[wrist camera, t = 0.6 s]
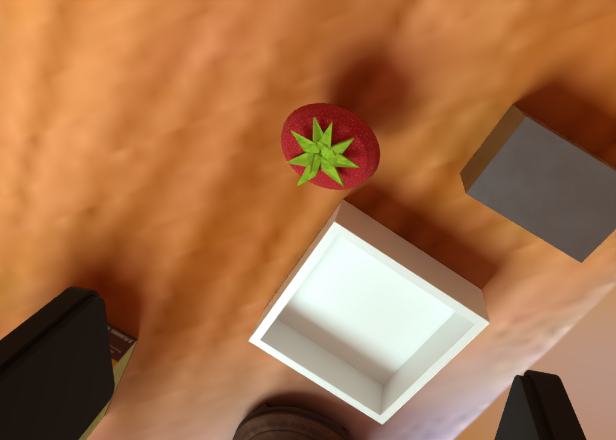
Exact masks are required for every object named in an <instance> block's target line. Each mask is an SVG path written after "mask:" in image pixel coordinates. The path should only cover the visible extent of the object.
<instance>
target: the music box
mask: <svg viewBox="0 0 616 440" xmlns="http://www.w3.org/2000/svg"><path fill="white" fill-rule="evenodd" d="M233 440H351V439H350V436H349V431H348V429H347V428H343V430H342V429H341V428H339V427H338V426H337V425H336V424H334V423H333V422H332V421H330V420H328V419H327V418H325V417H323V416H321V415H319V414H316V413H314V412H311V411H308V410H305V409H301V408H296V407H289V406H274V407H268V405H267V404H263V405H262V406H261V407H260V408H259V410H257V411H255V412H253V413H251V414H250V415H248V416H247V417H246V418H245V419H244V420H243V421H242V422H241V423H240V424H239V426H238V428H237V430H236V433H235V435H234V437H233Z"/></svg>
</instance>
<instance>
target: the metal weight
mask: <svg viewBox="0 0 616 440" xmlns="http://www.w3.org/2000/svg"><path fill="white" fill-rule="evenodd" d="M460 175H461V178H462V182H463V185H464V188H465V192H466V194H468V195H469V196H471V197H473V198H474V199H476V200H478V201H479V202H481V203H483V204H484V205H486V206H488V207H489V208H491V209H493V210H494V211H496V212H498V213H499V214H501V215H503V216H504V217H506V218H508V219H509V220H511V221H513V222H514V223H516V224H518V225H519V226H521V227H523V228H524V229H526V230H528V231H529V232H531V233H533V234H534V235H536V236H538V237H539V238H541V239H543V240H544V241H546V242H548V243H549V244H551V245H553V246H554V247H556V248H557V249H559V250H561V251H562V252H564V253H566V254H567V255H569V256H571V257H572V258H574V259H576V260H577V261H579V262H581V263H582V262H583V261H584V260H585V259H586V258H587V257H588V256H589V255H590V254H591V253H592V252H593V251H594V250H595V249H596V248H597V247H598V246H599V245H600V244H601V243H602V242H603V241H604V240H605V239H606V238H607V237H608V236H609V235H610V234H611V233H612V232H613V231H614V230H615V229H616V167H615V166H613V165H611V164H610V163H608V162H606V161H605V160H603V159H602V158H600V157H598V156H597V155H595V154H593V153H592V152H590V151H588V150H587V149H585V148H583V147H582V146H580V145H579V144H577V143H575V142H574V141H572V140H570V139H569V138H567V137H565V136H564V135H562V134H561V133H559V132H557V131H556V130H554V129H552V128H551V127H549V126H547V125H546V124H544V123H543V122H541V121H539V120H538V119H536V118H534V117H533V116H531V115H529V114H528V113H526V112H525V111H523V110H521V109H520V108H518V107H516V106H515V105H513V104H512V106H511V107H510V108H509V110H508V111H507V112H506V113H505V115H504V116H503V117H502V119H501V120H500V121H499V123H498V124H497V125H496V127H495V128H494V129H493V131H492V132H491V133H490V135H489V136H488V137H487V139H486V140H485V141H484V143H483V144H482V145H481V146H480V148H479V149H478V150H477V152H476V153H475V154H474V156H473V157H472V158H471V160H470V161H469V162H468V164H467V165H466V166H465V168H464V169H463V170H462V172H461V173H460Z"/></svg>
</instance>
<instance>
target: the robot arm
mask: <svg viewBox="0 0 616 440" xmlns="http://www.w3.org/2000/svg"><path fill="white" fill-rule="evenodd" d="M114 389H115V382H114V374H113V366H112V358H111V350H110V342H109V334H108V326H107V318H106V310H105V303H104V300H103V299H102V298H100V297H99V294H98V293H97V292H96V291H94V290H89V289H84V288H78V287H70V288H68V289H66V290H65V291H63V292H62V293H61V294H60V295H58V296H57V297H56V298H54V299H53V300H52V301H51V302H49V303H48V304H47V305H45V306H44V307H43V308H41V309H40V310H39V311H38V312H36V313H35V314H34V315H32V316H31V317H30V318H29V319H27V320H26V321H25V322H23V323H22V324H21V325H19V326H18V327H17V328H16V329H14V330H13V331H12V332H10V333H9V334H8V335H7V336H5V337H4V338H3V339H1V340H0V440H79V439H80V437H81V436H82V435H83V434H84V432H85V431H86V430H87V429H88V427H89V426H90V425H91V424H92V422H93V421H94V420H95V419H96V417H97V416H98V415H99V414H100V412H101V411H102V410H103V409H104V407H105V406H106V405H107V404H108V402H109V401H110V399H111V398H112V395H113V393H114ZM495 440H586V437H585V435H584V433H583V430H582V428H581V426H580V424H579V421H578V419H577V416H576V414H575V412H574V409H573V407H572V405H571V402H570V400H569V398H568V395H567V393H566V391H565V388H564V386H563V383H562V381H561V379H560V378H559V376H557V375H554V374H549V373H543V372H538V371H532V370H527V371H526V372H525V373H524V376H520V375H516V376H515V378H514V380H513V383H512V386H511V389H510V392H509V396H508V399H507V402H506V405H505V408H504V411H503V414H502V418H501V421H500V424H499V428H498V430H497V433H496V437H495Z"/></svg>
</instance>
